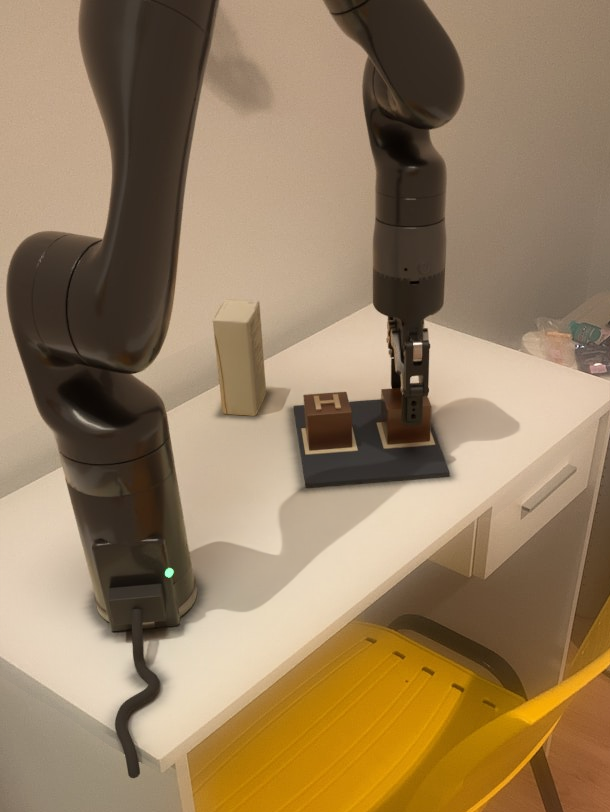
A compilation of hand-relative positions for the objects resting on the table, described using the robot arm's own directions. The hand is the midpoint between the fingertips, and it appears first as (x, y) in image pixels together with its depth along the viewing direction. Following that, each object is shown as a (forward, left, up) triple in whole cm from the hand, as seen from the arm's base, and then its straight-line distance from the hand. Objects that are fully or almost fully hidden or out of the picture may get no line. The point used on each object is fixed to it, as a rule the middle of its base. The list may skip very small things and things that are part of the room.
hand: (405, 406), depth 109 cm
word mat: (+1, +4, -5) cm, 6 cm away
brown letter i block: (+1, 0, -4) cm, 4 cm away
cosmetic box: (+12, +18, -5) cm, 22 cm away
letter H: (+1, +9, -4) cm, 10 cm away
